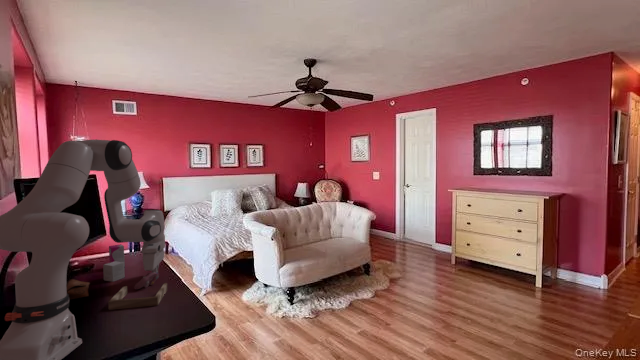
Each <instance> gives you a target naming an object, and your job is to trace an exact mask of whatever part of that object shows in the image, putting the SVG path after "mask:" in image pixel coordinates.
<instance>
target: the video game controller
mask: <svg viewBox="0 0 640 360" xmlns="http://www.w3.org/2000/svg"><path fill="white" fill-rule="evenodd" d="M159 278H160V273H159V272H158V273H155V272H153V273H152V272H149V273H147V274H146V275H144V276H143V277H142V278H141V279H140V280H138V282H137V283H136V284H135V285H134V289H135V290H141V289H142V288H143V287H144V288H146V289H147V288H148V287H149V286H152V285H154V284H155V282H156V281H157V280H158V279H159Z"/></svg>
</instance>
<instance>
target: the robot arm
mask: <svg viewBox="0 0 640 360" xmlns="http://www.w3.org/2000/svg"><path fill="white" fill-rule="evenodd" d="M91 171H93V172H103V174H104V177H105V180H106V184H107V188H106V190H105V191H104V193H103V194H104V195H103V196H104V204H105V205H104V206H105V208H106V209H105V210H106V216H107V220H108V224H109V225H108V227H109V229H108V230H109V237H110V238H111V240H112V241H113V242H115V243H117V244H122V243H142V246H141V249H140V250H141V251H140V253H141V254H142V264H143V269H144V271H145V272H149V271H151V273H153V272H155V273H158V274H159V267H160V263H162V261H163V260H164V258H165V250H164V249H165V248H166V235H165V230H166V229H165V226H166V225H165V217H164V212H163V211H162V210H161V209H146V210H144V211H143V216H141V217H140V218H139V219H132V218H131V219H129V218H127V217H125V216H124V212H123V207H122V201H125V200H126V199H127V200H128V199H129V198H131V197H132V196H134V195H135V194H137V193H138V191H139V189H140V188H141V185H142V184H141V183H142V182H141V177H140V175H139V171H138V169H137V167H136V165H135V162H134V160H133V153H132V149H131V147H130V146H129V145H128V144H127V143H126V142H125V141H123V140H122V141H121V140H117V139H111V140H110V139H109V140H108V139H85V140H78V139H77V140H67V141H64V142H62V143H61V144H60V145H59V146H58V147H57V148H56V149H55V151H54V152H53V153H52V155H51V157H50V158H49V160H48V161H47V163H46V164H45V167H44V169H43V170H42V173H41V175H40V177H39V178H38V179H37V182H36V183H35V185H34V186H33V188H32V189H31V190H30V192H29V193H27V195H26V196H25V197H24V198H23V199H22V200H21V201H20V202H18V203H17V204H16V205H15V206H14V207H13V208H10V209H9V210H8V211H7V212H5V213H3V214H1V215H0V250H3V251H7V252H13V253H14V252H15V253H16V252H17V253H19V252H20V253H23V252H26V253H27V252H28V253H32V255H31V259H30V263H29V265H28V266H27V267H25V268H23V269H22V270H20V271H19V272H18V273H17V275H16V276H15V278H14V286H15V291H14V292H15V304H14V307H13V310H12V312H7V313H6V314H5V316H4V321H5V322H10V321H11V323H10V325H9V327H8V329H6V331H5V332H4V334H3V336H2V338H1V339H0V360H62V359H64V358H65V357H67V356H68V355H69V354H70V353H71V352H73V351H74V350H75V349H76V348H78V347H79V346H81V344H83V339H82V338H80V337H78V331H77V324H76V318H75V315H74V314H73V313H72V312H71V311H70V309H69V307H70V300H69V295H68V294H67V280H68V279H67V275H68V274H67V273H68V266H69V264H70V261H71V258H72V257H73V255H74V253H76V251H77V250H78V249H80V248H81V247H83V245H84V244H85V243H86V242H87V240H88V239H89V238H88V237H90V236H89V235H90V226H89V222H88V221H87V220H86V218H85V217H83V216H82V215H77V214H73V213H69V212H62V211H64V210H65V209H66V208H69V207H71V206H72V205H74V204H76V203H77V202H78V201H79V199H80V198H81V195H82V193H83V190H84V188H85V185H86V184H87V181H88V178H89V176H90V172H91Z"/></svg>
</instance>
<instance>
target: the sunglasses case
mask: <svg viewBox="0 0 640 360" xmlns="http://www.w3.org/2000/svg"><path fill="white" fill-rule="evenodd" d="M66 285H67V294H68V295H69V301H70V300H74V299H81V298H84V297H90V296H89V287H90V285H91V282H89V281H80V280H78V279H75V278H72V279H71V278H70V279H69V280H68V281H67V282H66Z"/></svg>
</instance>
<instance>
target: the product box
mask: <svg viewBox="0 0 640 360" xmlns="http://www.w3.org/2000/svg"><path fill="white" fill-rule="evenodd" d="M102 265H103V270H102V271H103V280H104V281H106V282H116V281H119V280H121V279H124V278H125V268H124V262H117V261H114V262H111V263H110V262H108V263H104V264H102Z"/></svg>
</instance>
